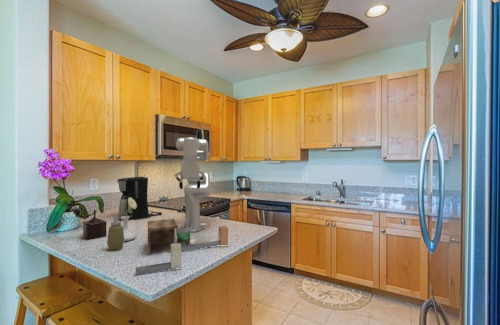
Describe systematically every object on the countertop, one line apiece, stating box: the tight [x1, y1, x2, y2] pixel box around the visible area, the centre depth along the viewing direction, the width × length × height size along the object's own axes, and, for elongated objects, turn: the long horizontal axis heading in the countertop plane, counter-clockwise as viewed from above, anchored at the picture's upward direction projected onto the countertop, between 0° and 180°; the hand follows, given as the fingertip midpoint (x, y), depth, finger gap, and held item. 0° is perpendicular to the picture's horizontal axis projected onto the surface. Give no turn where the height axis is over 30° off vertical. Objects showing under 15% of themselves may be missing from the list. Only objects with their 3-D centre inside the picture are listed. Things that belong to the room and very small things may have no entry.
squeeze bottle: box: [106, 214, 125, 251], centre depth 128 cm, size 8×8×18 cm
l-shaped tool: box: [135, 242, 182, 276], centre depth 103 cm, size 18×4×10 cm, turn 113°
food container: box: [175, 223, 192, 245], centre depth 137 cm, size 12×6×10 cm, turn 172°
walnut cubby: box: [147, 218, 179, 256], centre depth 130 cm, size 14×17×13 cm
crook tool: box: [180, 225, 229, 252], centre depth 134 cm, size 25×12×10 cm, turn 114°
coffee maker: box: [116, 176, 163, 221], centre depth 204 cm, size 23×32×34 cm
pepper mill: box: [72, 208, 107, 241], centre depth 147 cm, size 16×11×18 cm
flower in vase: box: [121, 197, 137, 242], centre depth 144 cm, size 13×11×25 cm
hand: (190, 188), depth 139 cm, fingers open, 9 cm apart
